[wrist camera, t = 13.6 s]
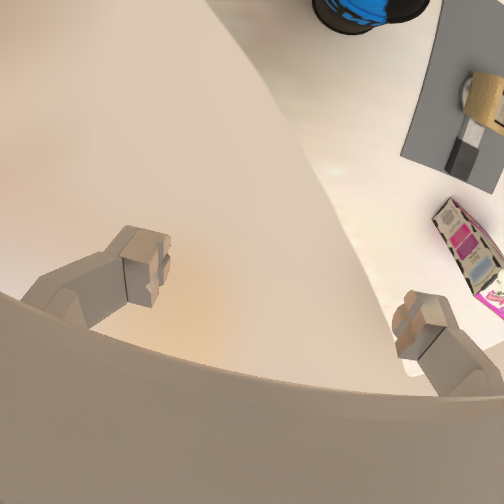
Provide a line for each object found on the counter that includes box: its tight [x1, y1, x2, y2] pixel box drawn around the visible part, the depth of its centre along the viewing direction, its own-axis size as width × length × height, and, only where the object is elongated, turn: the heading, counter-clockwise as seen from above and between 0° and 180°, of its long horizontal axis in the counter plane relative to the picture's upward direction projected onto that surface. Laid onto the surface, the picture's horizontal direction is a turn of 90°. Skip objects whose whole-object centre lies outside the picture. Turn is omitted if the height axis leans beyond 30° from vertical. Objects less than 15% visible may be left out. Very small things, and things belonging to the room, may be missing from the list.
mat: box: [400, 0, 504, 194], centre depth 28 cm, size 28×17×1 cm, turn 170°
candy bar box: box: [432, 198, 504, 320], centre depth 34 cm, size 11×5×16 cm, turn 63°
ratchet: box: [444, 74, 504, 182], centre depth 29 cm, size 15×7×5 cm, turn 170°
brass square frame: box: [462, 71, 504, 137], centre depth 25 cm, size 6×6×6 cm
